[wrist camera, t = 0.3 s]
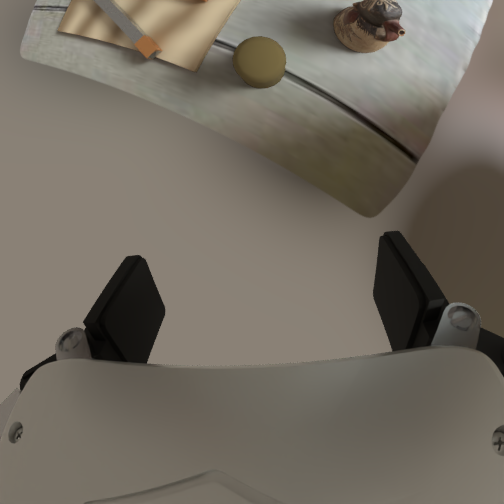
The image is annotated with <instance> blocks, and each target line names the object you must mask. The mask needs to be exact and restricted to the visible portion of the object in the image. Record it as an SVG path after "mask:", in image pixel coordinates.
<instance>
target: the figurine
mask: <svg viewBox="0 0 504 504" xmlns="http://www.w3.org/2000/svg"><path fill="white" fill-rule="evenodd" d="M401 15H402V9H401V7H400V6H399V5H398V3H397V2H396V1H395V0H364V1H361V2H357V3H353V7H348V8H346V9H344V10H342V11H341V12H340V13H339V14H338V15H337V16H336V17H335V18H334V23H333V25H334V31H335V34H336V35H337V37H338V39H339V40H340V41H341V42H342V43H343V44H344V45H345V46H346V47H348V48H350V49H351V50H354V51H357V52H361V53H370V52H375V51H377V50H379V49H381V48H383V47H384V46H385V45H387V43H388V42H390V41H394V40H396V39H397V38H398V37H399V36H403V35H404V34H405V30H404V29H403V28H402V27H401V26H400V25H399V20H400V17H401Z"/></svg>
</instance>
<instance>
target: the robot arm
mask: <svg viewBox="0 0 504 504" xmlns="http://www.w3.org/2000/svg"><path fill="white" fill-rule="evenodd" d="M373 297H374V300H375V303H376V306H377V308H378V311H379V314H380V316H381V319H382V322H383V325H384V327H385V330H386V333H387V336H388V339H389V341H390V345H391V348H392V352H385V353H379V354H372V355H364V356H356V357H349V358H341V359H332V360H323V361H312V362H301V363H287V364H269V365H242V366H188V365H187V366H186V365H160V364H147V361H148V358H149V355H150V352H151V350H152V347H153V345H154V342H155V339H156V337H157V334H158V331H159V329H160V326H161V323H162V321H163V318H164V316H165V306H164V304H163V302H162V299H161V297H160V294H159V292H158V290H157V287H156V285H155V282H154V280H153V277H152V275H151V272H150V270H149V267H148V265H147V262H146V260H145V259H144V258H142V257H141V256H140V255H135V256H127V257H126V258H125V259H124V261H123V262H122V263H121V265H120V266H119V268H118V269H117V271H116V272H115V274H114V275H113V277H112V278H111V279H110V281H109V282H108V284H107V285H106V287H105V289H104V290H103V291H102V293H101V294H100V296H99V298H98V299H97V301H96V302H95V304H94V305H93V307H92V308H91V310H90V312H89V313H88V315H87V317H86V318H85V320H84V321H83V323H84V325H85V326H86V328H85V330H83V329H81V328H77V327H76V328H71V329H69V330H67V331H66V332H64V333H63V334H62V335H61V336H60V337H59V339H58V340H57V342H56V346H55V350H56V354H54V355H52V356H51V357H49V358H47V359H46V360H44V361H42V362H41V363H39V364H38V365H36V366H34V367H32V368H31V369H29V370H28V371H26V372H25V373H24V374H23V376H22V379H21V382H20V390H19V389H18V388H16V389H15V390H14V391H13V392H12V393H11V394H10V395H9V396H8V398H6V399H5V400H4V401H3V402H2V403H1V404H0V504H504V338H502V337H500V336H498V335H496V334H494V333H492V332H490V331H487V330H485V329H483V328H481V319H480V316H479V314H478V313H477V312H476V310H475V309H474V308H472V307H471V306H469V305H467V304H463V303H452V304H449V303H448V301H447V299H446V298H445V296H444V294H443V293H442V291H441V290H440V288H439V287H438V285H437V283H436V282H435V280H434V279H433V277H432V276H431V274H430V273H429V271H428V270H427V268H426V267H425V265H424V264H423V263H422V262H421V261H420V259H419V258H418V256H417V255H416V253H415V252H414V251H413V249H412V248H411V246H410V245H409V244H408V242H407V241H406V239H405V238H404V237H403V235H402V234H401V233H400V232H399V231H390V232H385V233H384V235H383V236H381V237H380V239H379V248H378V257H377V267H376V274H375V282H374V289H373Z"/></svg>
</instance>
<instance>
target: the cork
mask: <svg viewBox="0 0 504 504" xmlns="http://www.w3.org/2000/svg"><path fill="white" fill-rule="evenodd" d="M285 64H286V55H285V53H284V50H283V48H282V47H281V46H280V45H279V44H278V43H277V42H276V41H274V40H272V39H270V38H267V37H262V36H259V37H251V38H249V39H246V40H244V41H243V42H242V43H240V44H239V45H238V47H237V48H236V50H235V51H234V55H233V66H234V68H235V70H236V72H237V73H238V74H239V75H240V77H241V78H242V79H243V80H244V81H245V82H246V83H247V84H248V85H250V86H252V87H256V88H269V87H271V86H274V85H275V84H277V83H278V82H279V81H280V80H281V79H282V77H283V76H284V72H285Z"/></svg>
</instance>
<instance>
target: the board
mask: <svg viewBox="0 0 504 504" xmlns="http://www.w3.org/2000/svg"><path fill="white" fill-rule="evenodd" d="M114 1H115V2H116V3H117V4H118V5H119V6H120V7H121V8H122V9H123V10H124V11H125V12H126V13H127V14H128V15H129V16H130V17H131V18H132V19H133V20H134V21H135V23H136V24H137V25H138V26H139V27H140V28H141V29H142V30H143V31H144V32H145V33H146V34H147V35H148V36H149V37H151V38H152V39H153V41H154V42H155V43H156V44H157V45H158V46H159V47H160V48H161V49H162V50H163V51H162V52H161V53H159V54H158V55H157V56H156V57H157V58H160V59H162V60H165V61H168V62H170V63H173V64H176V65H178V66H181V67H183V68H186V69H188V70H191V71H193V72H197V70H198V69H199V67H200V65H201V63H202V61H203V60H204V58H205V56H206V54H207V53H208V51H209V49H210V48H211V46H212V44H213V42H214V41H215V39H216V38H217V36H218V34H219V33H220V31H221V29H222V28H223V26H224V25H225V23H226V22H227V20H228V19H229V17H230V15H231V14H232V12H233V11H234V9H235V8H236V7H237V5H238V4H239V2H240V1H241V0H208V1H207V2H205V1H202V0H114ZM57 31H61V32H66V33H71V34H76V35H81V36H85V37H90V38H94V39H98V40H102V41H105V42H109V43H113V44H116V45H120V46H123V47H126V48H130V49H133V50H136V51H139V49H138V48H137V47H136V46H135V45H134V43H133V42H132V40H131V39H130V38H129V37H128V36H127V35H126V34H125V33H124V32H123V31H122V30H121V29H120V27H119V26H118V25H117V24H116V23H115V22H114V21H113V20H112V19H111V18H110V17H109V16H108V15H107V14H106V13H105V12H104V11H103V10H102V9H101V7H100V6H99V5H98V4H97V3H96V2H95V1H94V0H72V1H71V3H70V5H69V7H68V9H67V11H66V13H65V15H64V17H63V19H62V21H61V24H60V26H59V28H58V30H57ZM139 52H140V51H139Z"/></svg>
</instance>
